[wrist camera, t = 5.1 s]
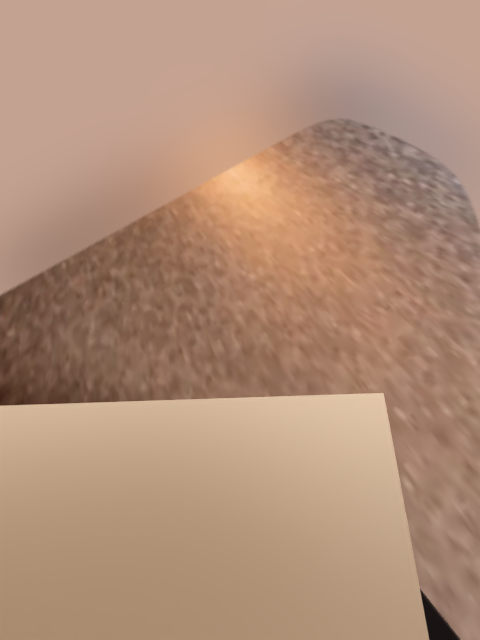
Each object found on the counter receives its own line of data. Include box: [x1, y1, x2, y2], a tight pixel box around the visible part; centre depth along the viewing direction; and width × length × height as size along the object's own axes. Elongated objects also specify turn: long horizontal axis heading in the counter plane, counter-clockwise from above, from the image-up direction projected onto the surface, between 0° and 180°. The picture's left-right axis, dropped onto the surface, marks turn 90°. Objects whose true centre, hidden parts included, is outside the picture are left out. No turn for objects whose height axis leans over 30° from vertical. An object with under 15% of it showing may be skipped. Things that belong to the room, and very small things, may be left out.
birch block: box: [0, 393, 429, 640], centre depth 8 cm, size 5×5×12 cm
